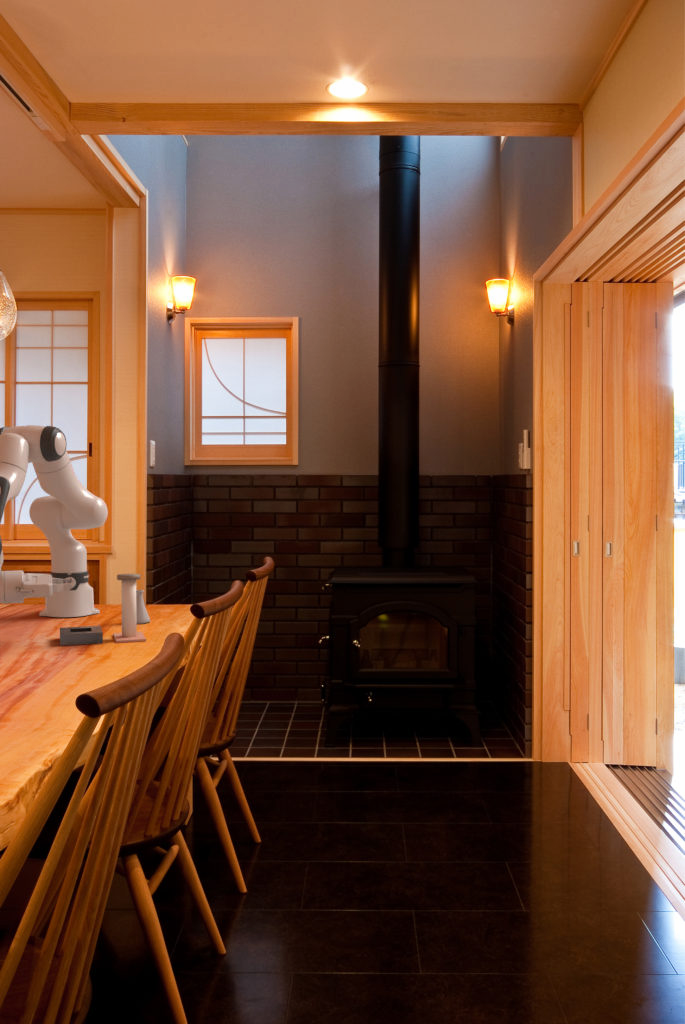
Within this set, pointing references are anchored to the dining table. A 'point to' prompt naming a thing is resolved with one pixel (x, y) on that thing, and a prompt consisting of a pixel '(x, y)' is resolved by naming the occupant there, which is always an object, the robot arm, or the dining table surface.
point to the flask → (141, 608)
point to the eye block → (81, 635)
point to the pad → (129, 638)
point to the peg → (129, 604)
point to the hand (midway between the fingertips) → (70, 584)
